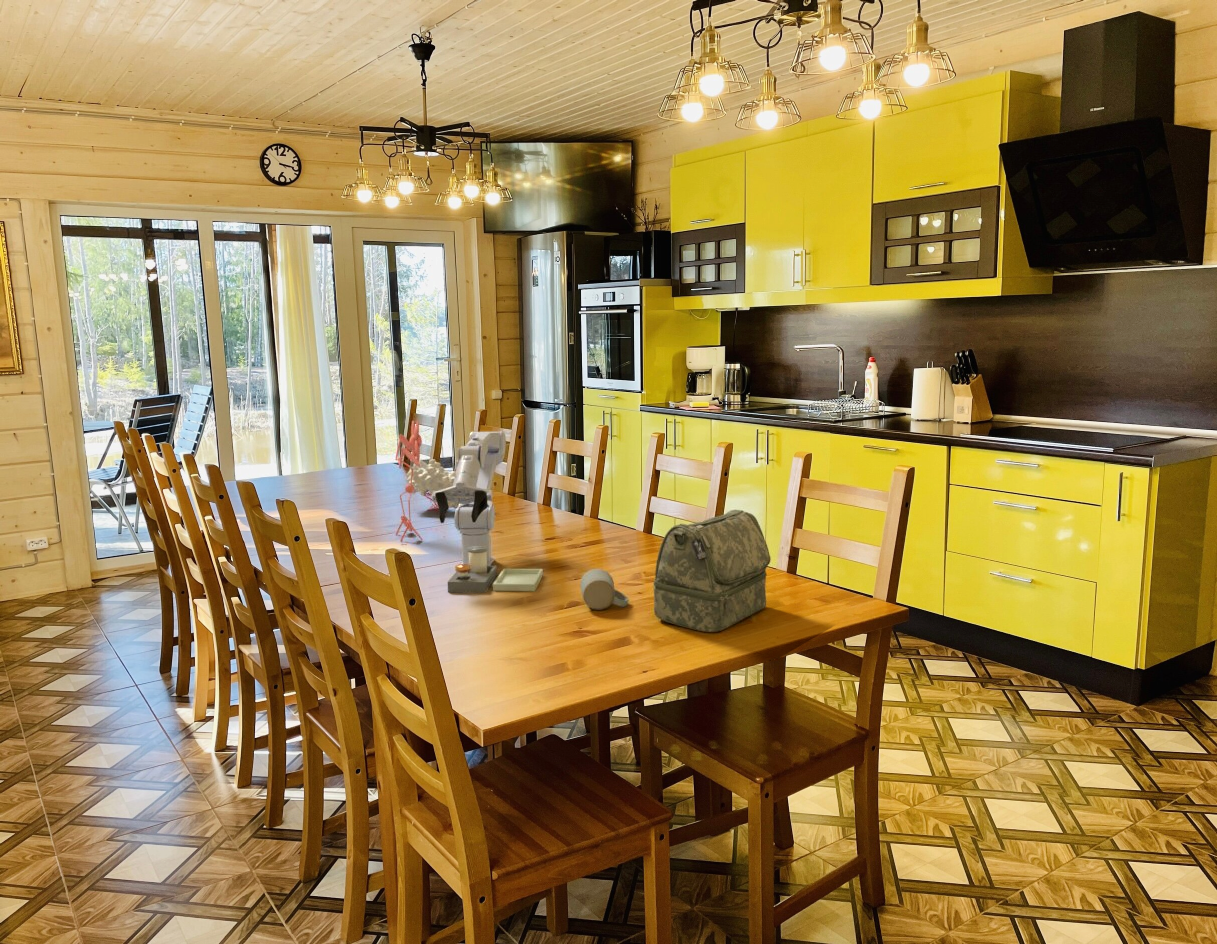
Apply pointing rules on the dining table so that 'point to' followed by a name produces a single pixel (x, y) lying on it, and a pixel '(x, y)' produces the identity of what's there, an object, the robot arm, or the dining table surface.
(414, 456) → the figurine
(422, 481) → the lumpy white molecule
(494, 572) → the housing
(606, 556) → the dining table surface
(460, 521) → the robot arm
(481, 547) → the cylinder
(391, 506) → the dining table surface
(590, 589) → the ceramic mug
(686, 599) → the lunch bag
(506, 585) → the tray
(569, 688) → the dining table surface
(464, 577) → the orange round piece
